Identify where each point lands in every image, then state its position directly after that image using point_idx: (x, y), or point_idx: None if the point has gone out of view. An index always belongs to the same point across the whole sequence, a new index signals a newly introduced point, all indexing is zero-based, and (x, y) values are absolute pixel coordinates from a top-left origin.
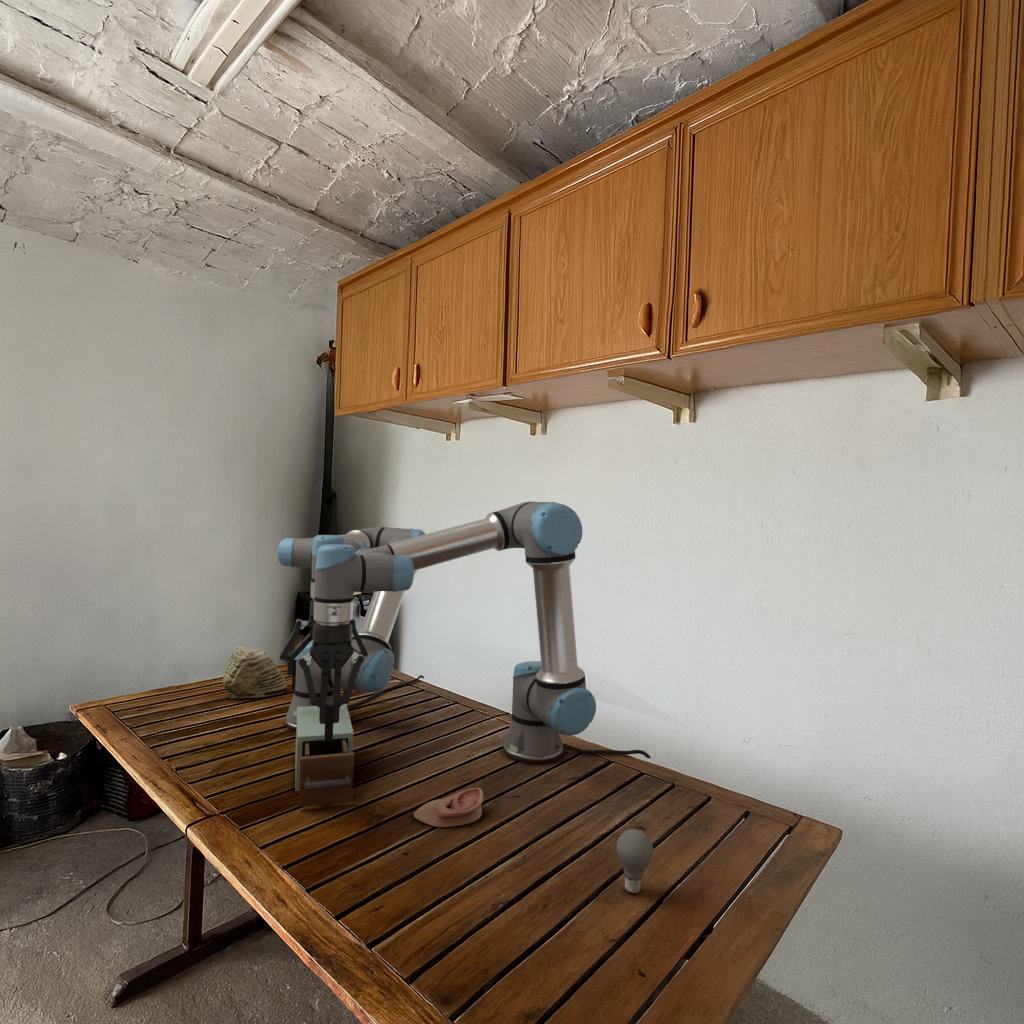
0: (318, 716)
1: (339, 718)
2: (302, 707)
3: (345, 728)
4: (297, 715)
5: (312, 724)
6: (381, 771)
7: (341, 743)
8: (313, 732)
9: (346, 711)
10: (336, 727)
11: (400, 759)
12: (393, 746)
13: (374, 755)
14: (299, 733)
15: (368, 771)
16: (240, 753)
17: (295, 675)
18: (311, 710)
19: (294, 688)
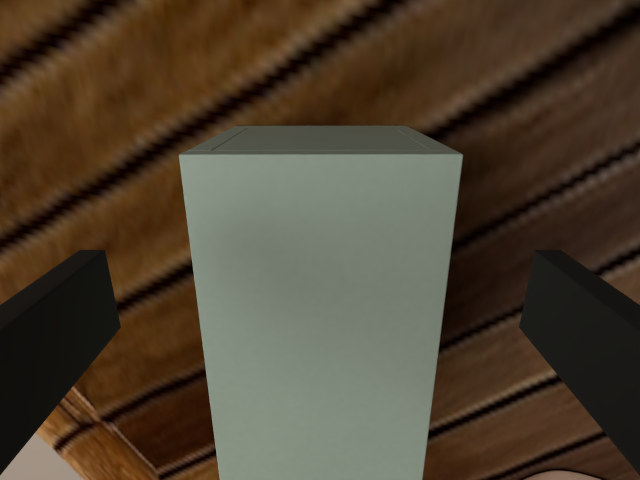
0: (297, 320)
1: (390, 360)
2: (209, 172)
3: (398, 459)
4: (196, 288)
5: (271, 402)
6: (483, 305)
7: None
8: (276, 473)
9: (438, 279)
10: (365, 445)
11: (565, 238)
12: (585, 122)
13: (496, 189)
14: (225, 472)
15: (448, 297)
16: (35, 64)
17: (52, 409)
18: (262, 231)
19: (109, 333)
